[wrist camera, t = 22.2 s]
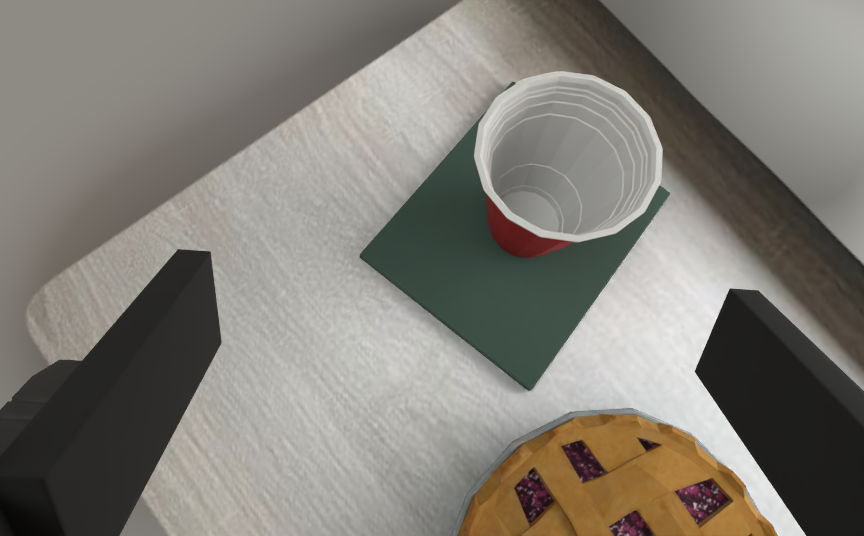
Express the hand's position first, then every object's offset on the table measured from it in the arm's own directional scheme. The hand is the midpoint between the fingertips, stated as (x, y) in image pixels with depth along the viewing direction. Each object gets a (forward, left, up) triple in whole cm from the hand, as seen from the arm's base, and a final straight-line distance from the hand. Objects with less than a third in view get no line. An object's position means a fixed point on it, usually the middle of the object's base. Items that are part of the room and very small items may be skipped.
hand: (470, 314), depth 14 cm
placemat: (-1, +14, -26) cm, 30 cm away
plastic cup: (-1, +14, -25) cm, 29 cm away
